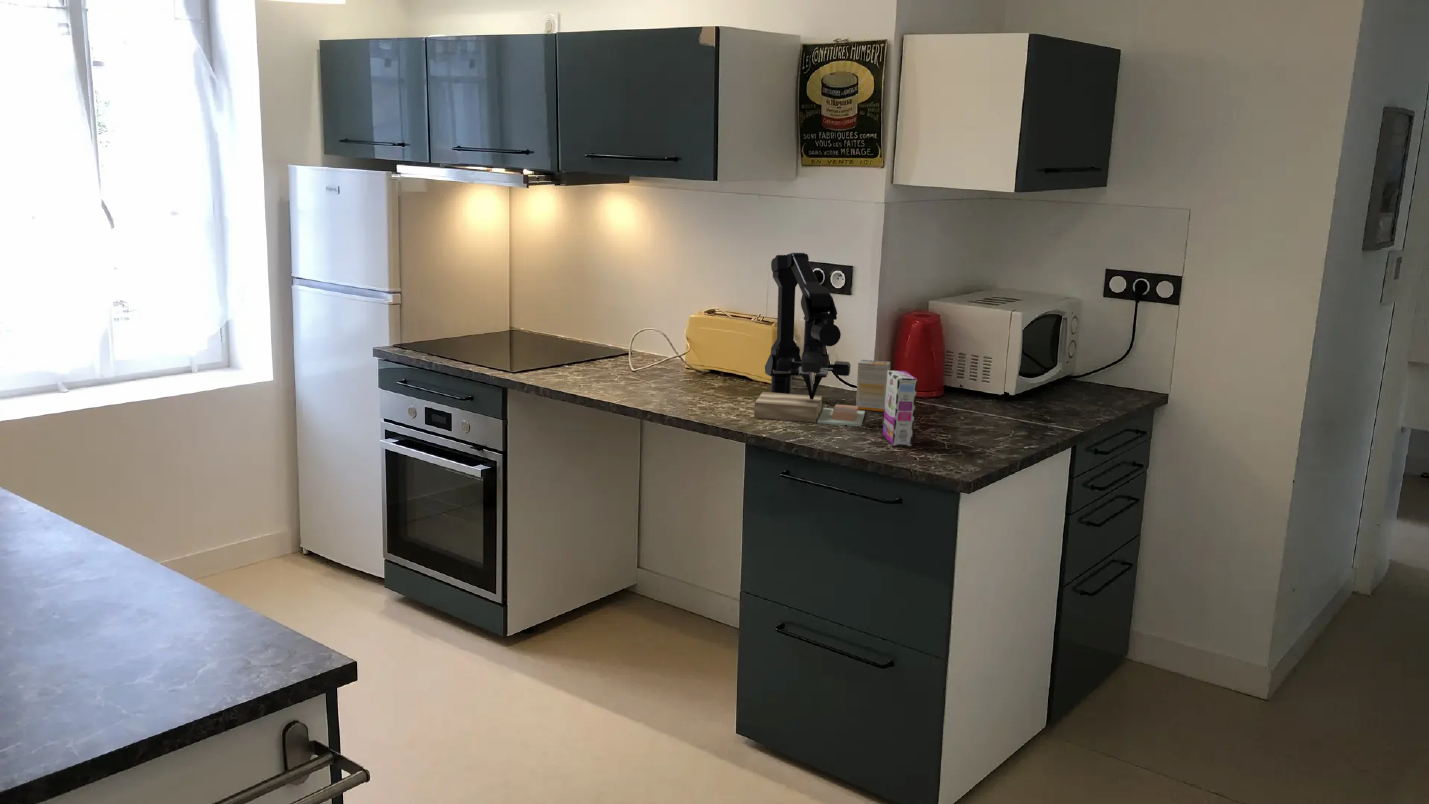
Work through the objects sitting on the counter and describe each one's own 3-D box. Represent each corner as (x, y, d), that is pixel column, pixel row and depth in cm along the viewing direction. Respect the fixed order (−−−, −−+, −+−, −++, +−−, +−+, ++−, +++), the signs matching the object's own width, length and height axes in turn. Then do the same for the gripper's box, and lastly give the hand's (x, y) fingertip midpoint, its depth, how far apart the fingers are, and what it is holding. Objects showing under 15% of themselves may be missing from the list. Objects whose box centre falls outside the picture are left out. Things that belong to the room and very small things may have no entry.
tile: (858, 406, 293) (857, 413, 293) (835, 404, 294) (835, 411, 294) (856, 413, 284) (855, 420, 284) (832, 411, 285) (832, 419, 286)
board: (762, 406, 300) (762, 391, 300) (821, 410, 297) (822, 396, 297) (754, 417, 287) (754, 402, 286) (815, 422, 284) (816, 407, 283)
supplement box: (888, 409, 303) (891, 361, 300) (885, 412, 298) (888, 364, 296) (858, 405, 305) (861, 358, 303) (854, 409, 301) (857, 361, 298)
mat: (823, 410, 298) (823, 408, 298) (864, 413, 296) (864, 411, 296) (817, 423, 283) (817, 421, 283) (860, 426, 281) (861, 424, 281)
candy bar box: (913, 447, 263) (918, 378, 259) (892, 446, 262) (897, 378, 259) (901, 435, 273) (906, 369, 270) (881, 435, 273) (886, 369, 270)
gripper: (774, 342, 281) (772, 402, 284) (849, 347, 277) (845, 408, 281) (780, 335, 291) (777, 394, 295) (852, 340, 288) (848, 399, 291)
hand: (811, 399), depth 290 cm, fingers closed
